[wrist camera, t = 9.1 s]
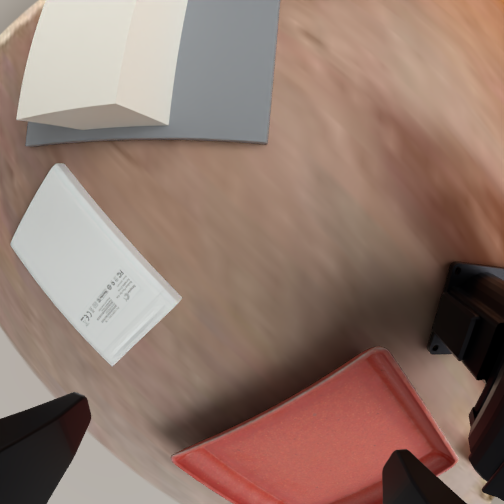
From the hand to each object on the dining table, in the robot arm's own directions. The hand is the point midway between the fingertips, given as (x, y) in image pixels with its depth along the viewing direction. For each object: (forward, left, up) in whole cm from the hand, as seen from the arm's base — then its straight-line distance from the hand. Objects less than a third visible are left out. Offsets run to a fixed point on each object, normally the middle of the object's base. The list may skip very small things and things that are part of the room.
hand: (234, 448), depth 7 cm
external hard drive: (+12, 0, -13) cm, 18 cm away
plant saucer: (-7, +14, -12) cm, 20 cm away
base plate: (+9, -14, -12) cm, 21 cm away
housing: (+9, -14, -11) cm, 20 cm away
